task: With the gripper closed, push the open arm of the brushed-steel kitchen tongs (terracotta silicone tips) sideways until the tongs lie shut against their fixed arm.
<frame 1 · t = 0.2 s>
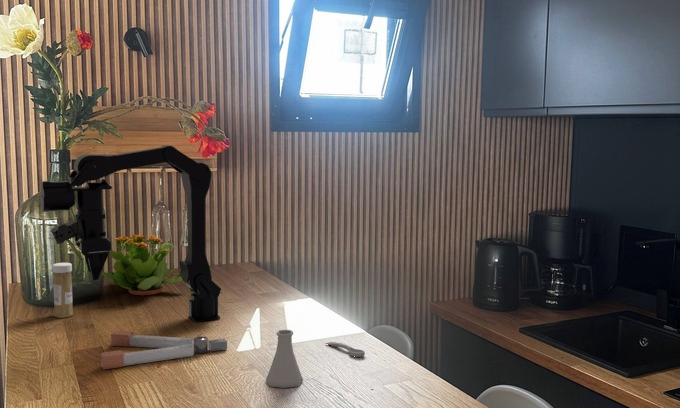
hand: (93, 275, 155), 14 cm above the table, fingers open, 9 cm apart
tong arm: (159, 341, 146), point 2 cm above the table, hinge at 35.0°
spoon: (344, 353, 147), on the table
tongs fixed: (200, 352, 144), on the table
potted flower: (146, 292, 194), on the table
sprinkles bottle: (63, 316, 169), on the table
flask: (284, 383, 129), on the table
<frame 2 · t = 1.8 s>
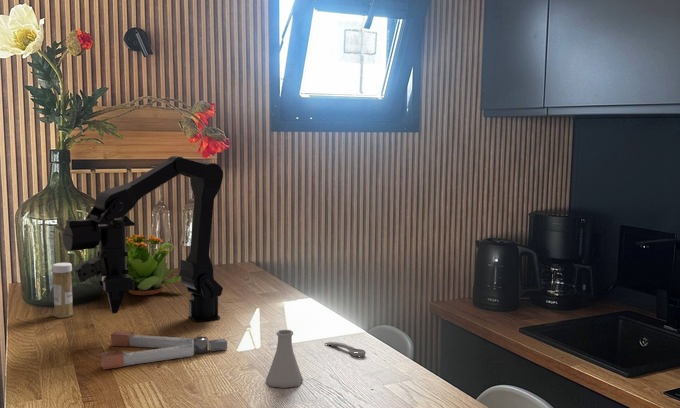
hand: (114, 312, 153), 5 cm above the table, fingers closed
nothing on the table moved.
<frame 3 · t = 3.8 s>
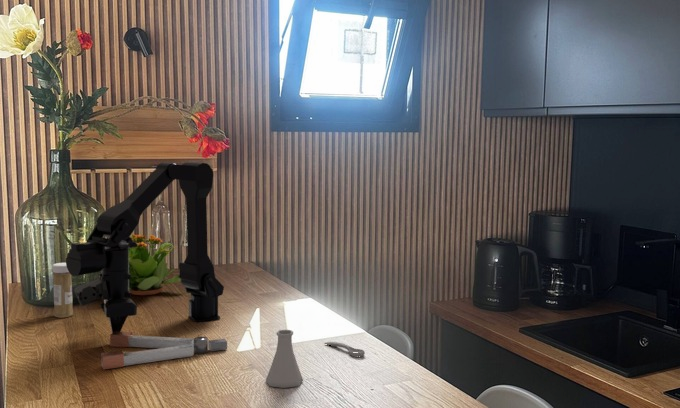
hand: (115, 336, 150), 1 cm above the table, fingers closed
tong arm: (159, 341, 146), point 2 cm above the table, hinge at 33.7°, touching gripper
everything else where it was.
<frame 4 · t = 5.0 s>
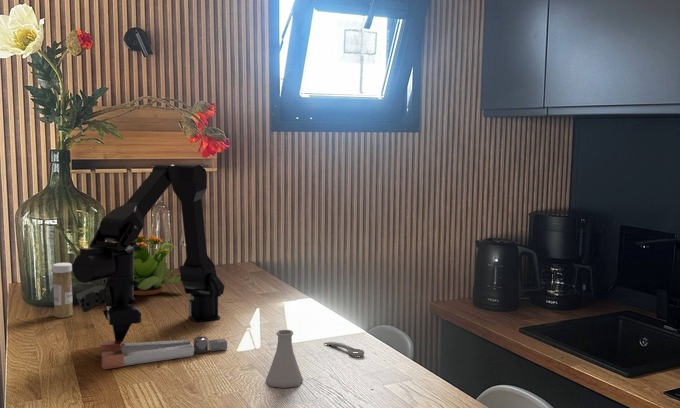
hand: (118, 344, 143), 2 cm above the table, fingers closed
tong arm: (155, 346, 142), point 2 cm above the table, hinge at 14.1°, touching gripper
everything else where it was.
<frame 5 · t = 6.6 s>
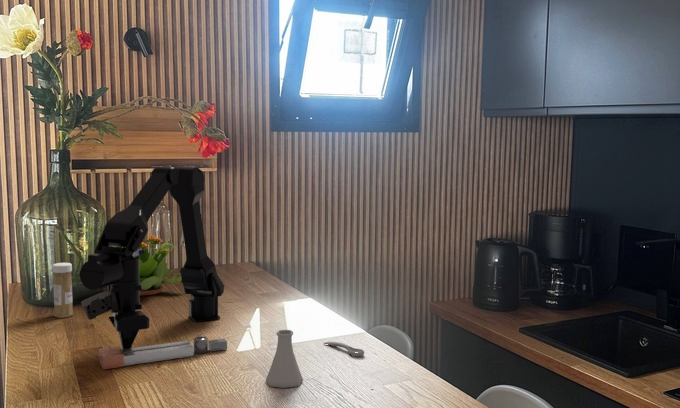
hand: (126, 351, 140), 1 cm above the table, fingers closed
tong arm: (155, 350, 140), point 2 cm above the table, hinge at 0.4°
everything else where it was.
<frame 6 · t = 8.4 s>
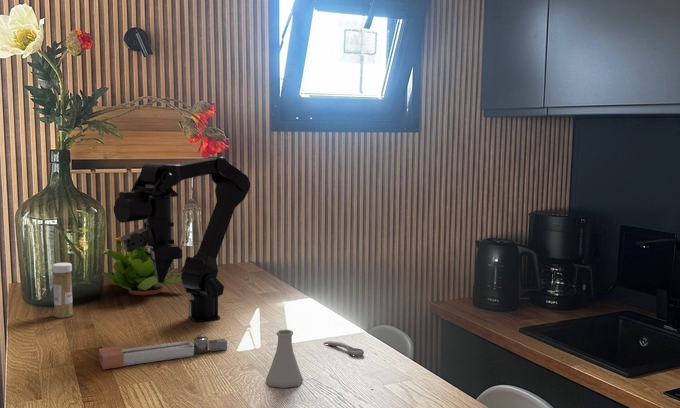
hand: (160, 282, 157), 12 cm above the table, fingers closed
nothing on the table moved.
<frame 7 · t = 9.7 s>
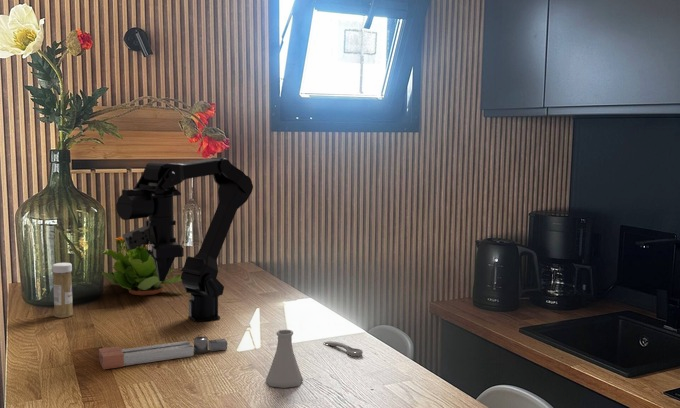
hand: (161, 280, 158), 12 cm above the table, fingers closed
nothing on the table moved.
at the end: tong arm at +0° (first picture: +35°) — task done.
